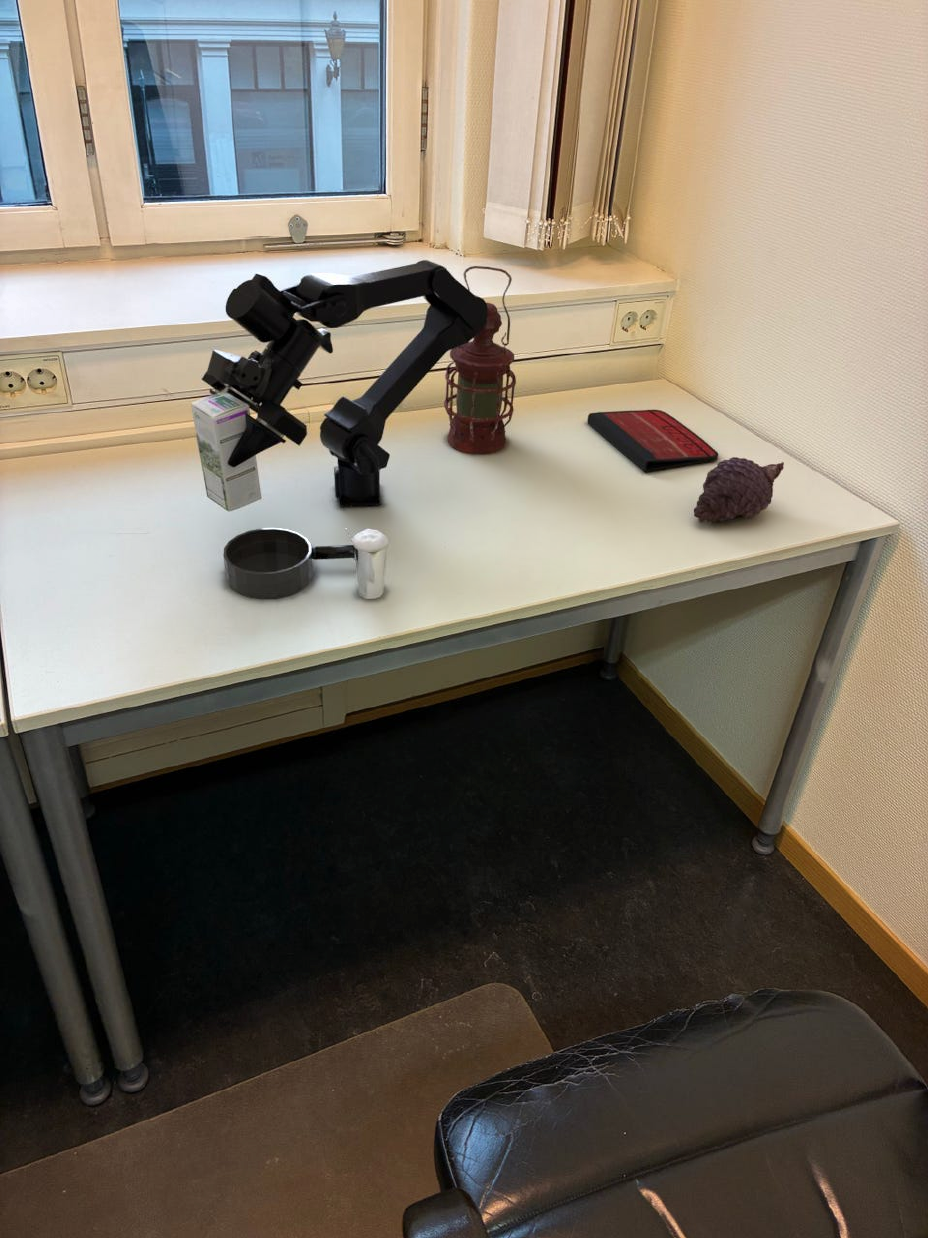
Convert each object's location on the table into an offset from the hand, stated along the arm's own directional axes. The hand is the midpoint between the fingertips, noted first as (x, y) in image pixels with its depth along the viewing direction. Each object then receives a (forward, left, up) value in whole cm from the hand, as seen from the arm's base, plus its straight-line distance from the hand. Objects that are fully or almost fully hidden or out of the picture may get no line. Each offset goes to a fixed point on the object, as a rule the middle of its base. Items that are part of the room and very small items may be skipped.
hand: (219, 457), depth 124 cm
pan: (-6, +9, -13) cm, 17 cm away
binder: (-73, -29, -13) cm, 80 cm away
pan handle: (-16, +9, -11) cm, 22 cm away
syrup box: (-1, -1, -7) cm, 7 cm away
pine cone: (-77, -3, -13) cm, 79 cm away
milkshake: (-19, +15, -13) cm, 27 cm away
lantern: (-41, -31, -13) cm, 53 cm away
